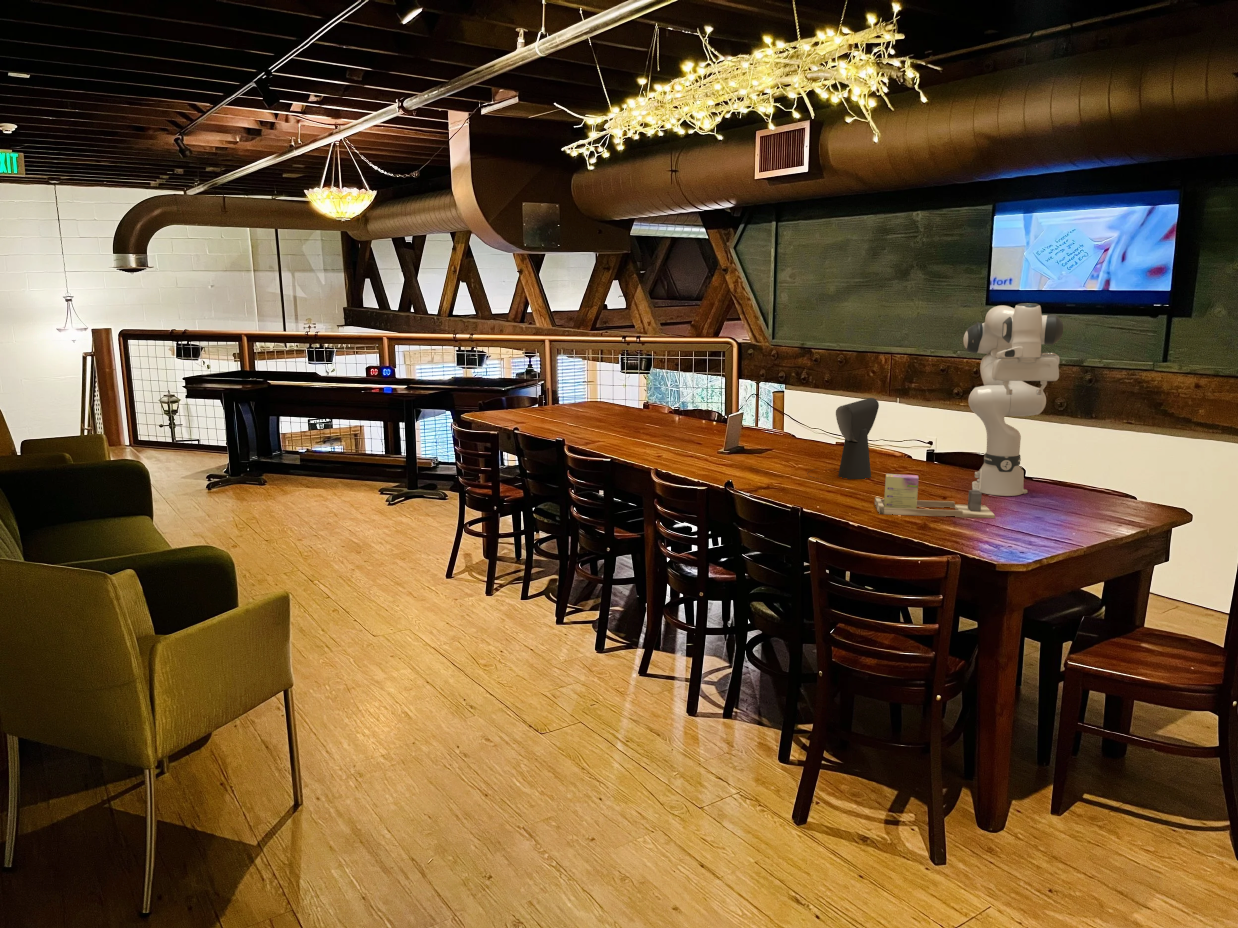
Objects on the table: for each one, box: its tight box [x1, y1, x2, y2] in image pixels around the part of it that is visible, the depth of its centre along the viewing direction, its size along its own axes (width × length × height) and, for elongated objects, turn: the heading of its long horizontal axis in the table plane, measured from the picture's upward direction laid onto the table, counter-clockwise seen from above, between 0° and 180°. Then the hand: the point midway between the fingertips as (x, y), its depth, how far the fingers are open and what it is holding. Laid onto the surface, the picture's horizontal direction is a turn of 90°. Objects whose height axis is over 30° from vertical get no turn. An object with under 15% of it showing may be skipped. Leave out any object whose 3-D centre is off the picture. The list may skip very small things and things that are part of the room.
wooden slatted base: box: [874, 489, 996, 519], centre depth 295 cm, size 14×36×7 cm, turn 80°
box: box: [883, 473, 919, 509], centre depth 296 cm, size 10×6×12 cm, turn 74°
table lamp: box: [806, 397, 880, 480], centre depth 346 cm, size 40×28×30 cm
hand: (1024, 395), depth 292 cm, fingers open, 8 cm apart
